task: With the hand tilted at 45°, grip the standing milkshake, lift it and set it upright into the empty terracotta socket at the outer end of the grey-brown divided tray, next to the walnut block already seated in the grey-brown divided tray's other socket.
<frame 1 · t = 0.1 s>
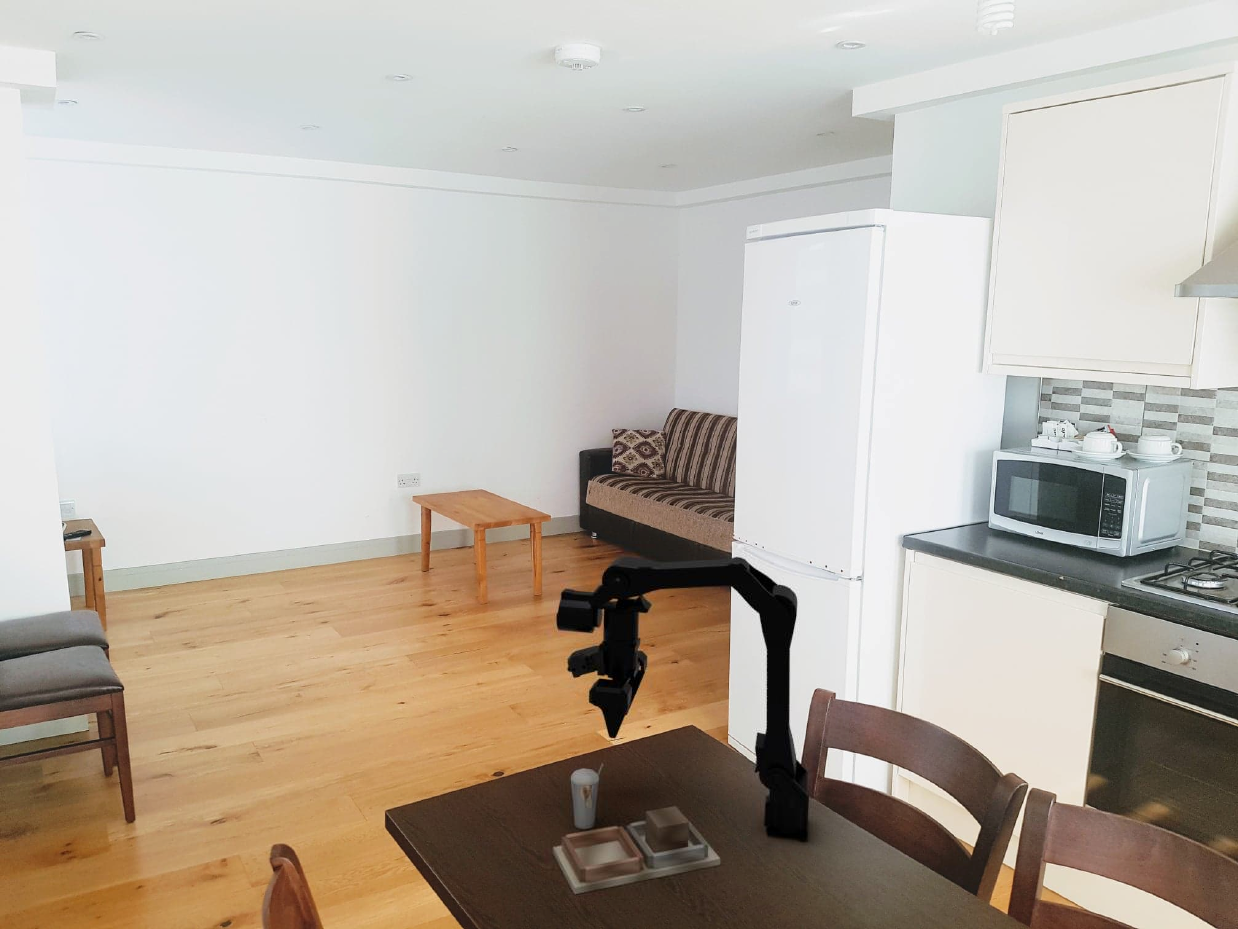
hand: (618, 725, 154), 15 cm above the table, tool pointing down, fingers open, 9 cm apart
milkshake: (586, 825, 151), on the table
grey-brown divided tray: (601, 865, 140), on the table
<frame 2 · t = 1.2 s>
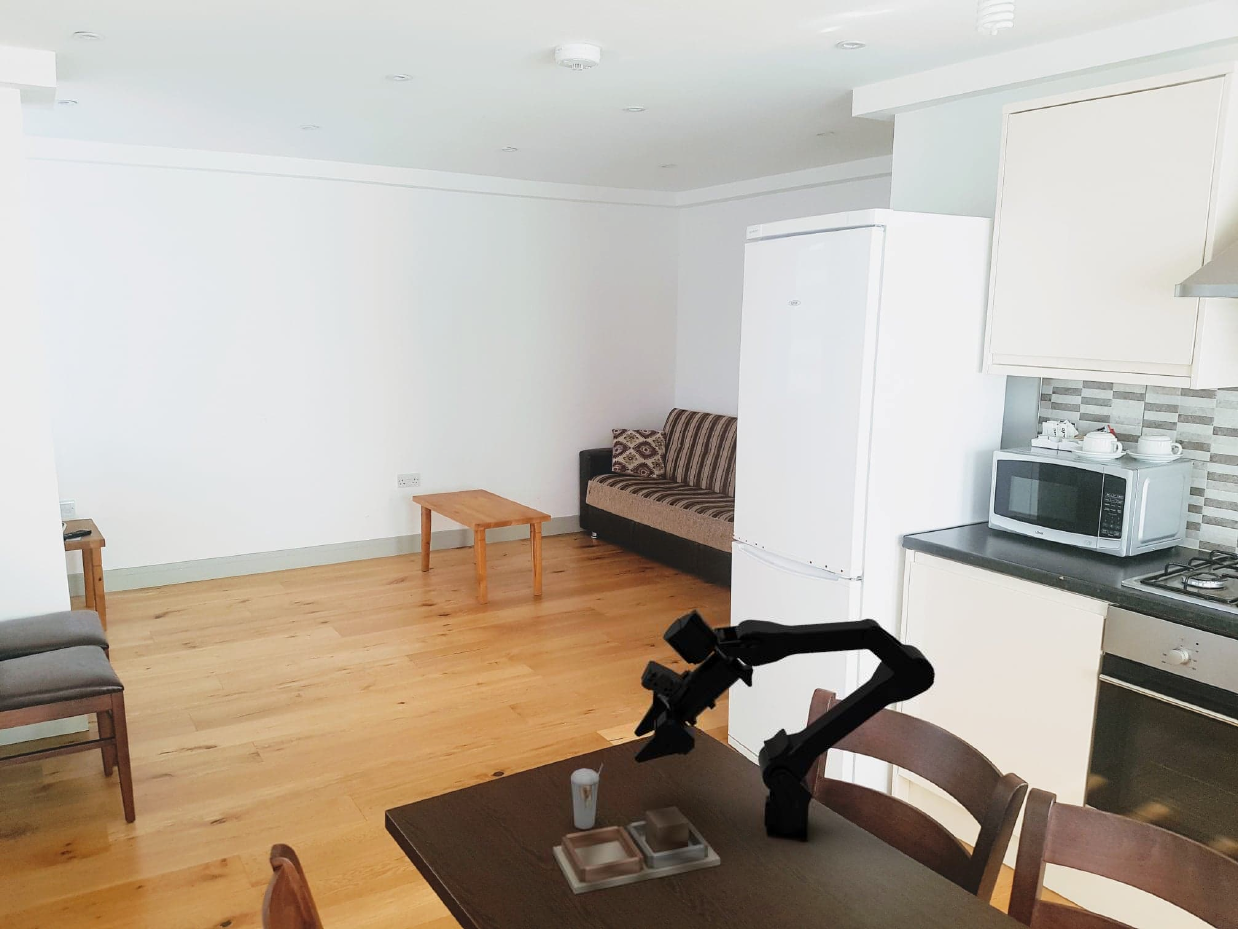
hand: (636, 747, 149), 13 cm above the table, tool tilted 45°, fingers open, 9 cm apart
nothing on the table moved.
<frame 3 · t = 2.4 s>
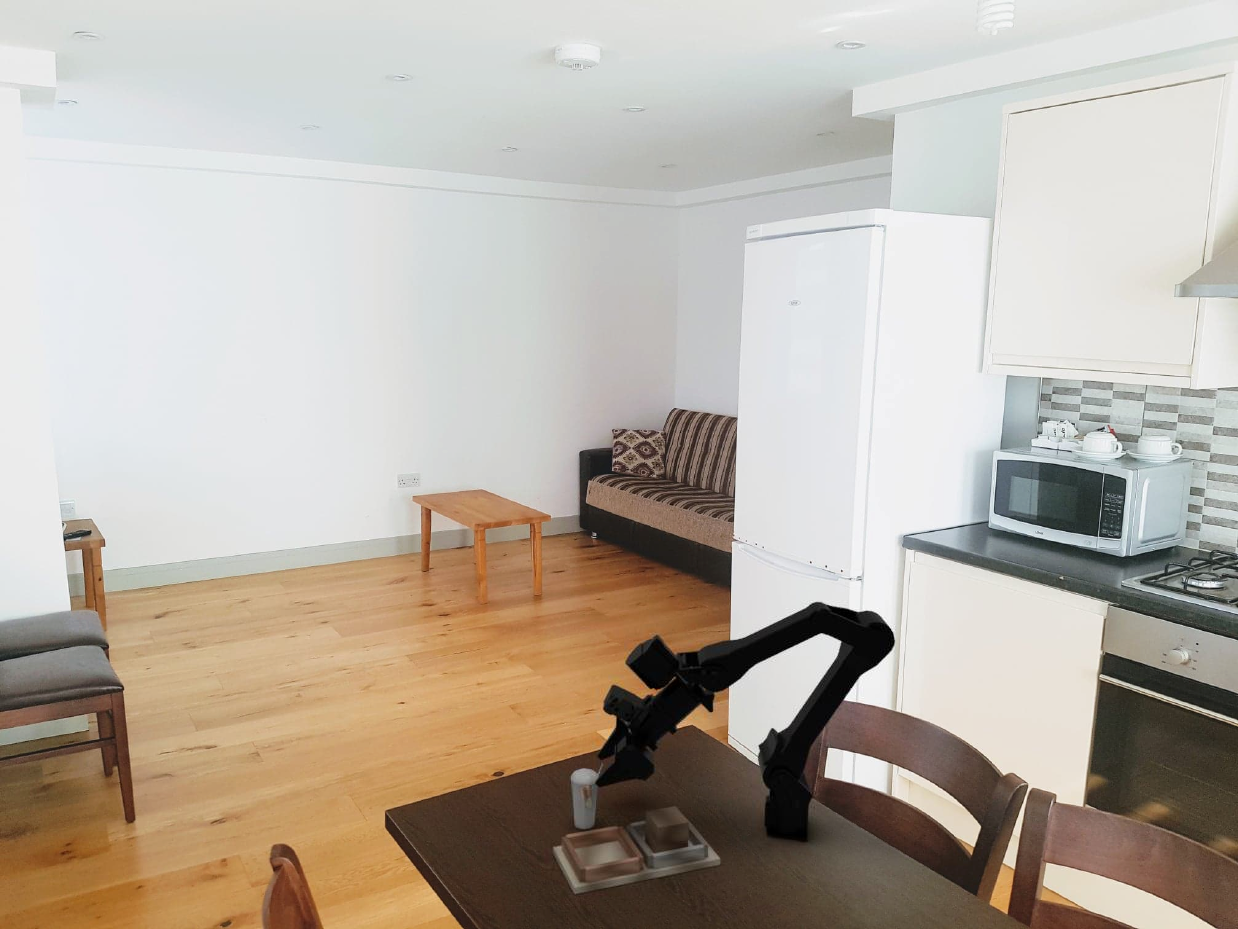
hand: (597, 771, 150), 9 cm above the table, tool tilted 45°, fingers open, 9 cm apart
nothing on the table moved.
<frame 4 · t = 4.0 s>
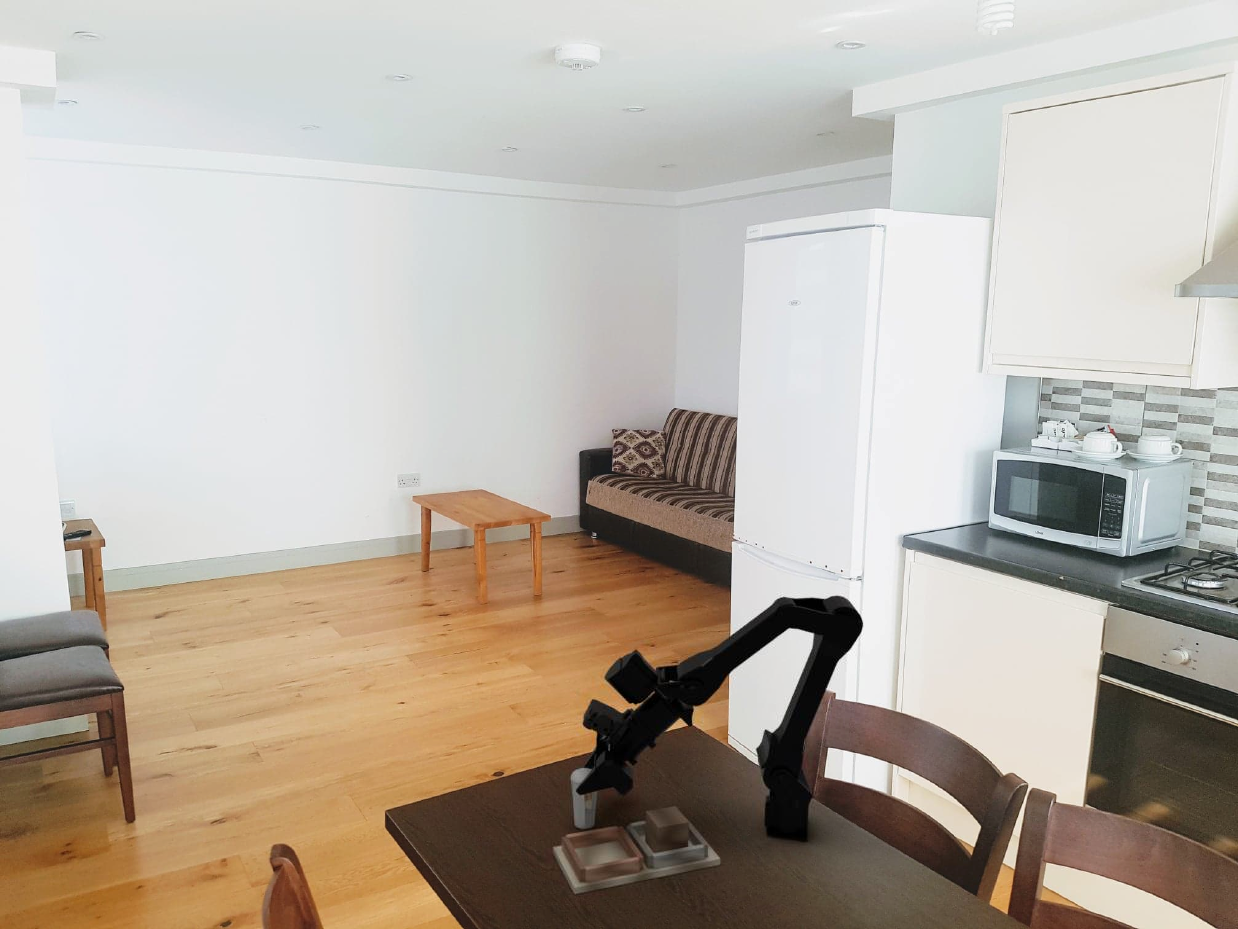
hand: (578, 785, 150), 7 cm above the table, tool tilted 45°, fingers closed on milkshake, 4 cm apart
milkshake: (586, 824, 151), on the table, touching gripper
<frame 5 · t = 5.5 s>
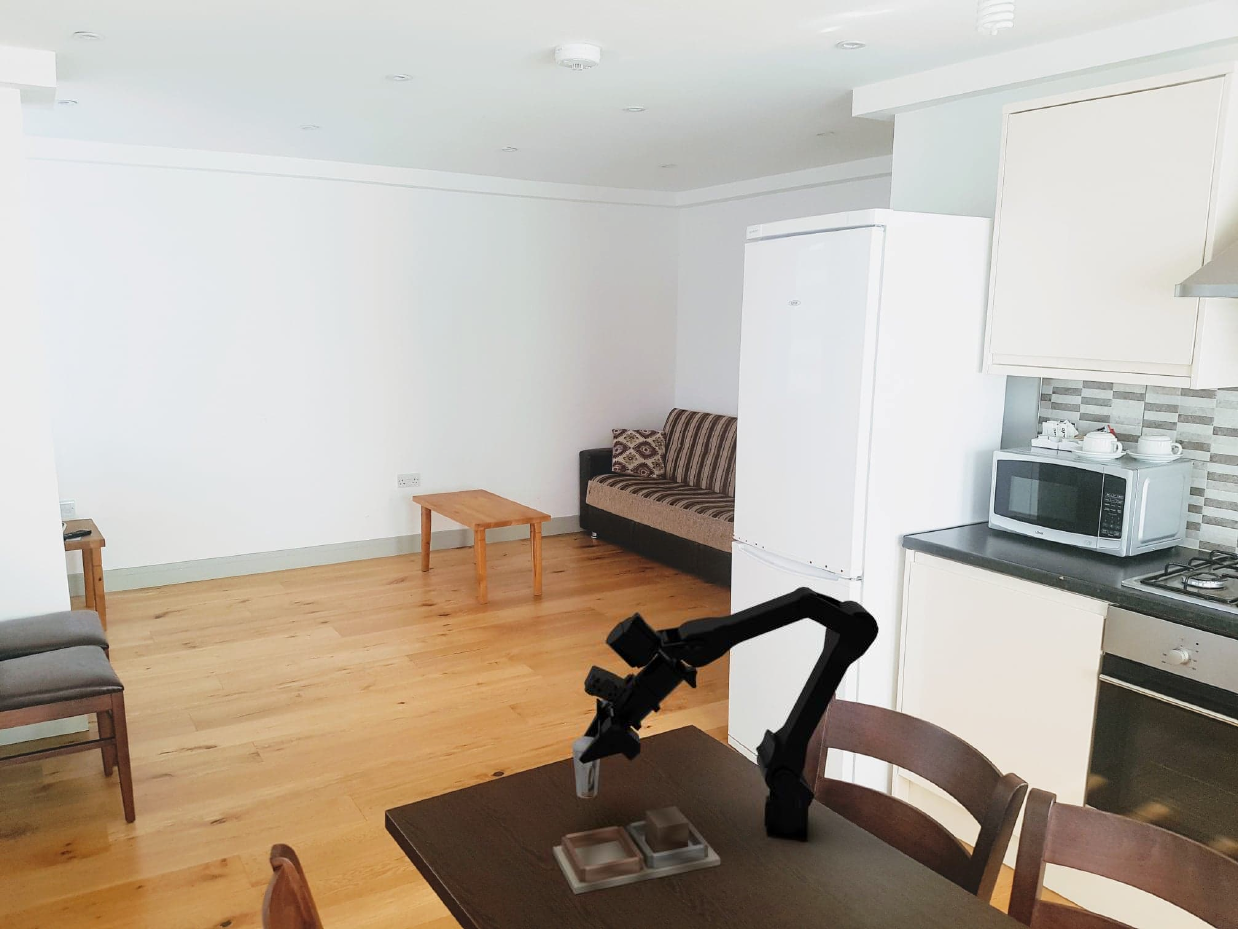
hand: (580, 754, 147), 13 cm above the table, tool tilted 45°, fingers closed on milkshake, 4 cm apart
milkshake: (589, 794, 148), point 6 cm above the table, touching gripper
when the fingers open (9 cm above the table, at t = 7.5 s): milkshake drops 1 cm, resting on grey-brown divided tray.
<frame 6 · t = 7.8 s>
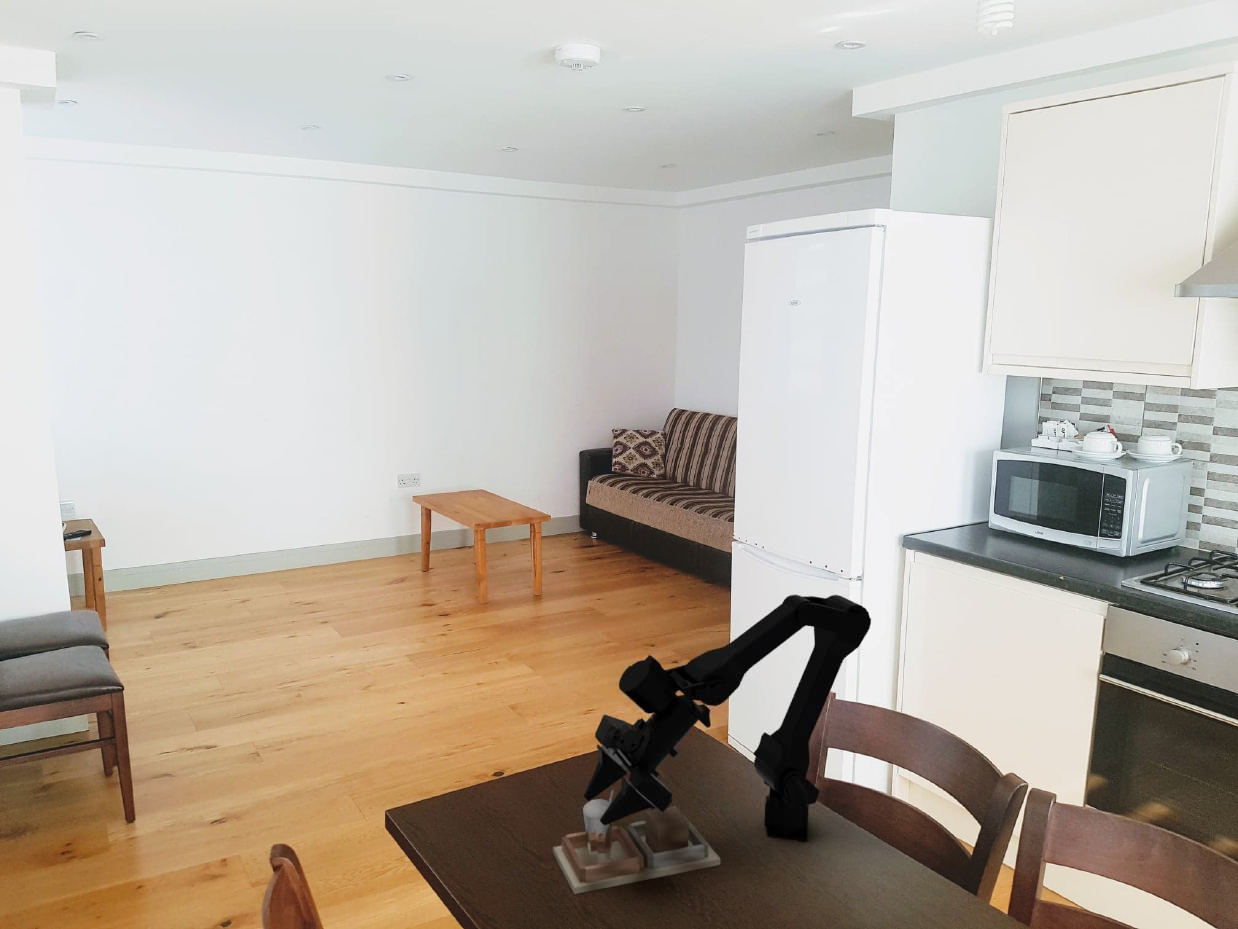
hand: (593, 810, 138), 9 cm above the table, tool tilted 45°, fingers open, 7 cm apart
milkshake: (602, 859, 140), point 1 cm above the table, touching grey-brown divided tray
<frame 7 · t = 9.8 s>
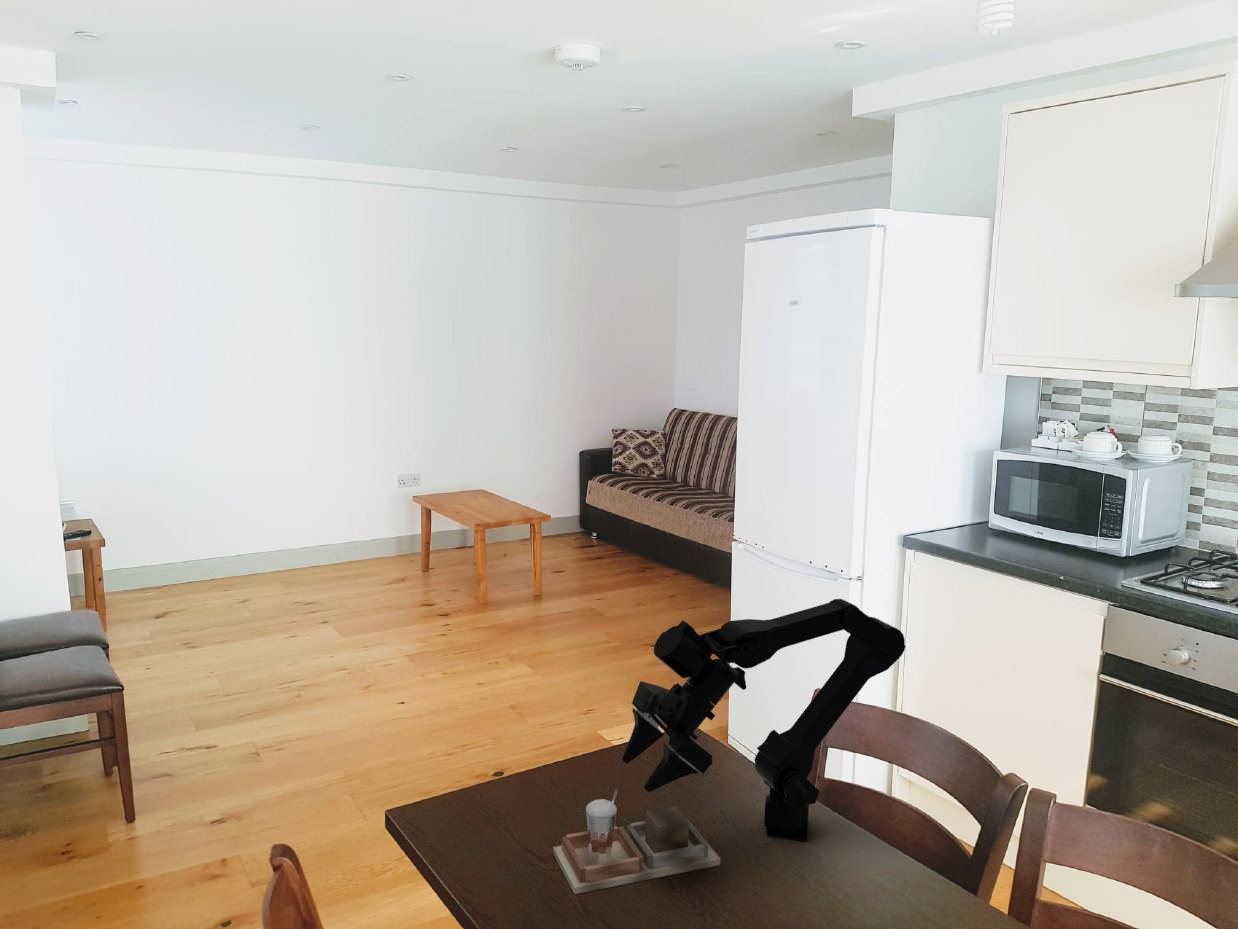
hand: (634, 775, 140), 13 cm above the table, tool tilted 40°, fingers open, 9 cm apart
nothing on the table moved.
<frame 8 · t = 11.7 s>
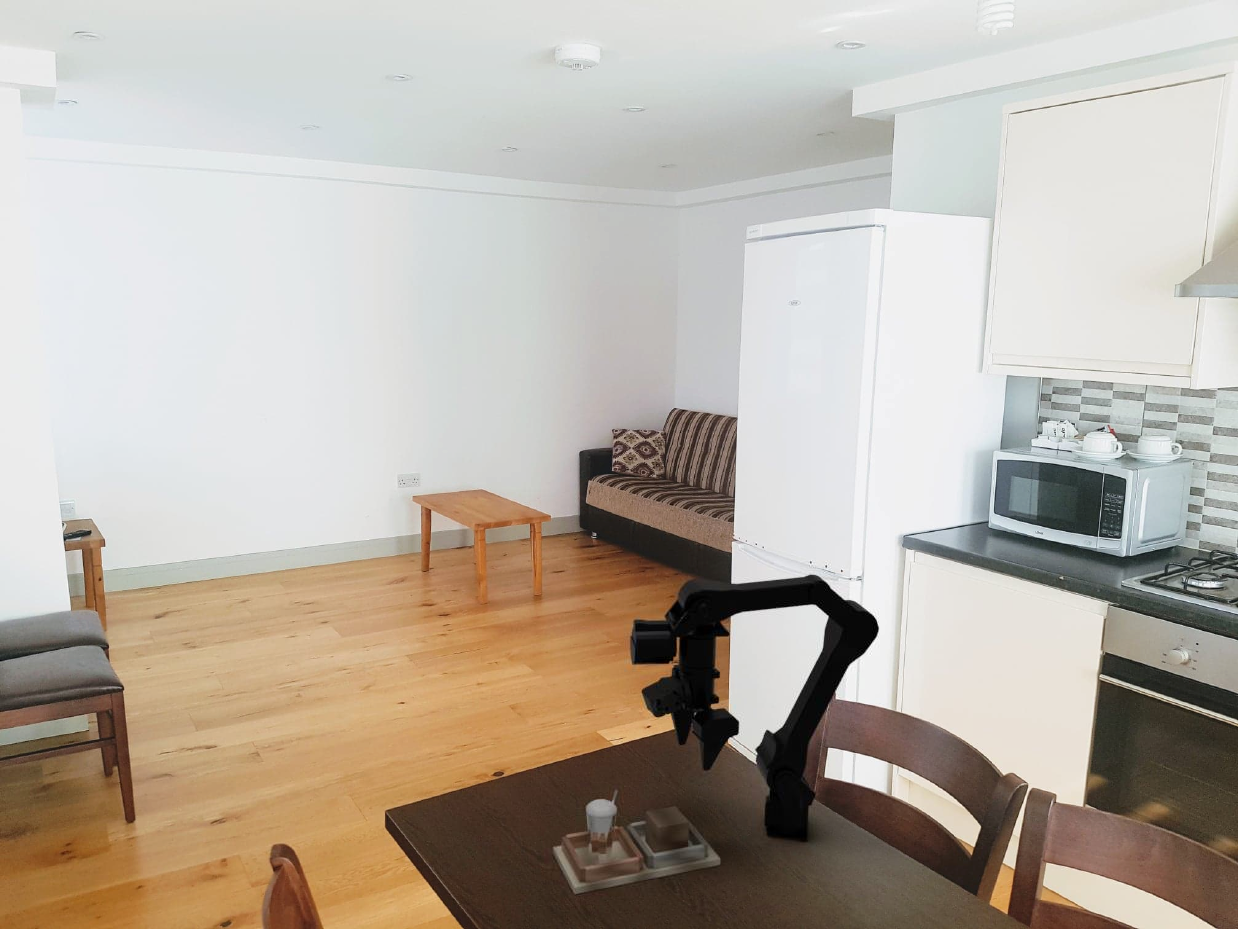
hand: (693, 757, 147), 13 cm above the table, tool pointing down, fingers open, 9 cm apart
nothing on the table moved.
at the end: milkshake 0.2 cm off-centre on the grey-brown divided tray, point 0.8 cm above the grey-brown divided tray's base; milkshake tilted 0°; the gripper is holding nothing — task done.
